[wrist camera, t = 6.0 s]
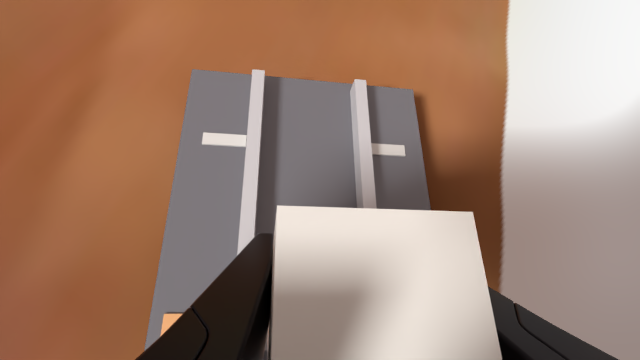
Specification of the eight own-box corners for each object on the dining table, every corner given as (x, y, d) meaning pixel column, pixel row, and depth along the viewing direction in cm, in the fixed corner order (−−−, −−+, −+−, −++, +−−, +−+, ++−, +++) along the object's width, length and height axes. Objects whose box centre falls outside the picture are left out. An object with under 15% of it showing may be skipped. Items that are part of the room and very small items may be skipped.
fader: (359, 344, 13) (539, 409, 4) (255, 347, 12) (233, 432, 4) (355, 265, 14) (491, 198, 5) (260, 264, 13) (251, 188, 5)
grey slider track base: (438, 417, 14) (480, 443, 11) (146, 437, 12) (112, 474, 10) (399, 109, 20) (420, 77, 17) (199, 93, 18) (187, 55, 15)
